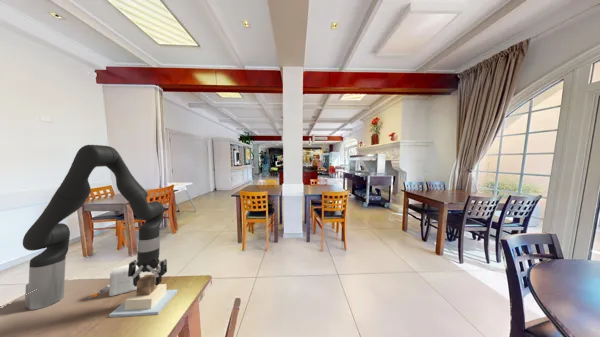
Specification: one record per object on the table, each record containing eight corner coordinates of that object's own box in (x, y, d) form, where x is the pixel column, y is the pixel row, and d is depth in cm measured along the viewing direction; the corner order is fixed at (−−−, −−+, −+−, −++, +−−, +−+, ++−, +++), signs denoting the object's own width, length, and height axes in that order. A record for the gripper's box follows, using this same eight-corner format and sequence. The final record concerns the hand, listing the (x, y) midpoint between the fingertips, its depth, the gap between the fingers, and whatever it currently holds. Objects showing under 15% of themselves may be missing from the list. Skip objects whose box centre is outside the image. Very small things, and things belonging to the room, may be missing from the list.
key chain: (111, 285, 92) (111, 282, 92) (118, 285, 91) (118, 282, 91) (77, 303, 79) (77, 300, 79) (85, 304, 78) (85, 301, 78)
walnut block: (136, 295, 76) (136, 281, 77) (145, 288, 81) (145, 274, 82) (149, 295, 77) (149, 281, 77) (157, 287, 82) (157, 274, 82)
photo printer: (139, 285, 91) (140, 260, 91) (137, 290, 87) (138, 264, 88) (110, 292, 85) (111, 266, 86) (107, 298, 82) (108, 270, 82)
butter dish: (109, 317, 71) (109, 304, 71) (137, 293, 85) (137, 282, 85) (158, 314, 73) (158, 301, 73) (177, 291, 87) (178, 281, 87)
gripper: (123, 251, 75) (122, 291, 75) (160, 251, 77) (159, 289, 76) (137, 244, 83) (136, 280, 82) (171, 244, 84) (169, 279, 84)
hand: (147, 284), depth 79 cm, fingers open, 8 cm apart
